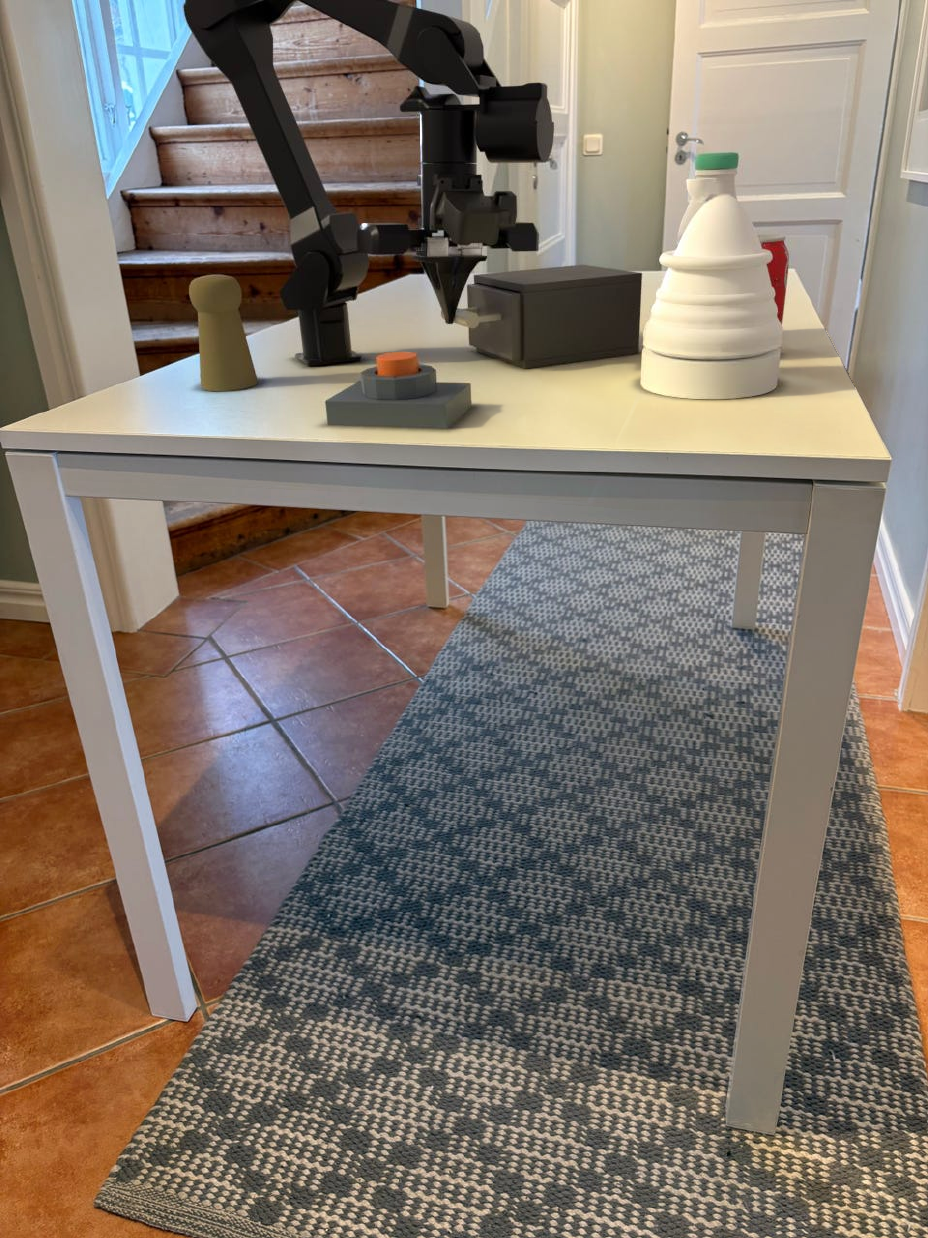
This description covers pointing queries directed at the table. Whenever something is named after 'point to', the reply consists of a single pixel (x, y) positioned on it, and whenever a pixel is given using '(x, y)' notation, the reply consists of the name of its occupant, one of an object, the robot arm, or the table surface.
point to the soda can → (777, 268)
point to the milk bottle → (714, 168)
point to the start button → (397, 364)
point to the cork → (221, 334)
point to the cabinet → (573, 313)
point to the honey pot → (713, 308)
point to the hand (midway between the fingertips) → (449, 323)
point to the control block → (399, 401)
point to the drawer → (493, 320)
